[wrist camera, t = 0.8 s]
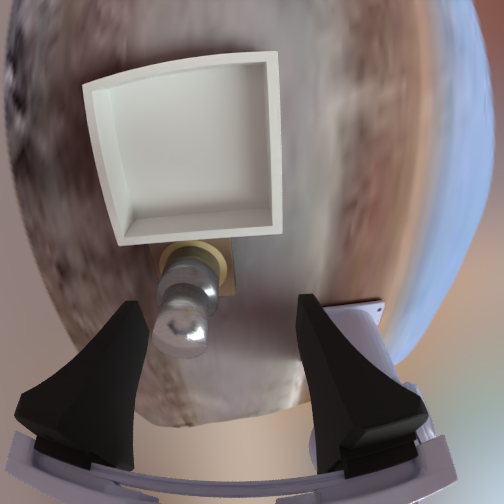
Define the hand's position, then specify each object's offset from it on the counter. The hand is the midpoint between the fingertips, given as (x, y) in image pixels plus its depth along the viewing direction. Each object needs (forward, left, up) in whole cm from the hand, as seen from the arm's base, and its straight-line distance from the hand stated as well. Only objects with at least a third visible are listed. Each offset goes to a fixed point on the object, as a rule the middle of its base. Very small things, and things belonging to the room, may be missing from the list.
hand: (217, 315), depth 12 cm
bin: (+6, +2, -10) cm, 11 cm away
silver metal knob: (-3, +3, -8) cm, 9 cm away
